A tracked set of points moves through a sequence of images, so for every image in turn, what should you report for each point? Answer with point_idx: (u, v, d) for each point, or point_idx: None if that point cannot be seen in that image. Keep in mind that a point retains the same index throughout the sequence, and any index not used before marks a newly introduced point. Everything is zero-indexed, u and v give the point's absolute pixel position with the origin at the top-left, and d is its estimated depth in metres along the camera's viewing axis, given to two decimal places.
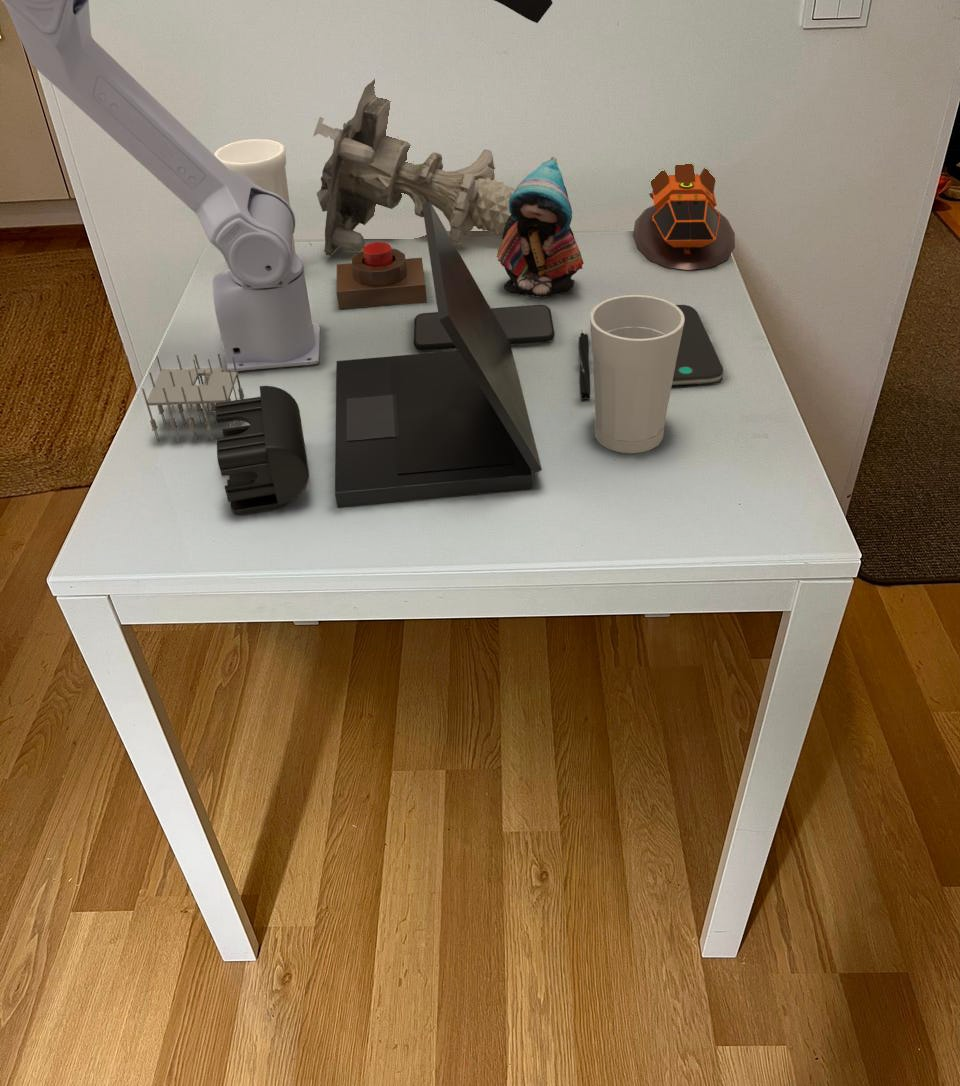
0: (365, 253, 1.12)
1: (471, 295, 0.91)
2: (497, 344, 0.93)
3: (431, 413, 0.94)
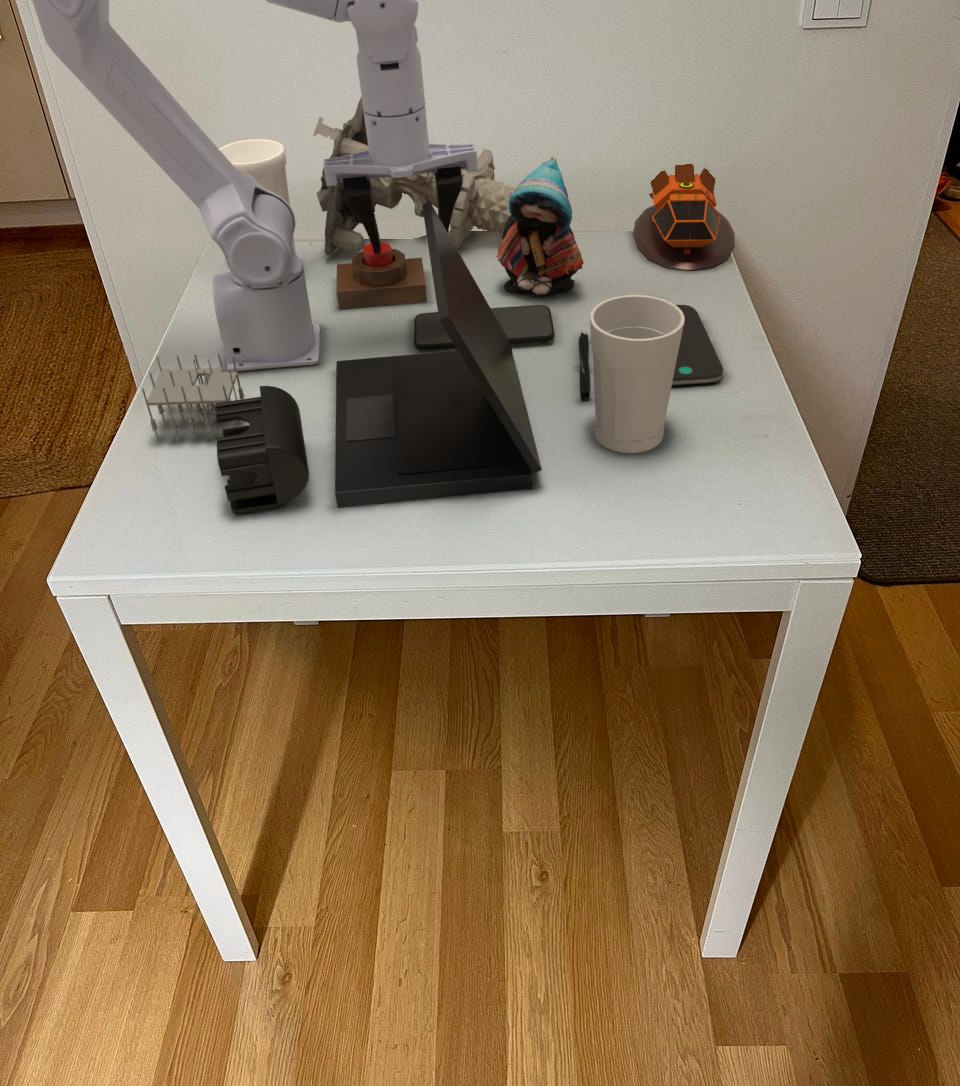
0: (365, 253, 1.12)
1: (471, 295, 0.91)
2: (497, 344, 0.93)
3: (431, 413, 0.94)
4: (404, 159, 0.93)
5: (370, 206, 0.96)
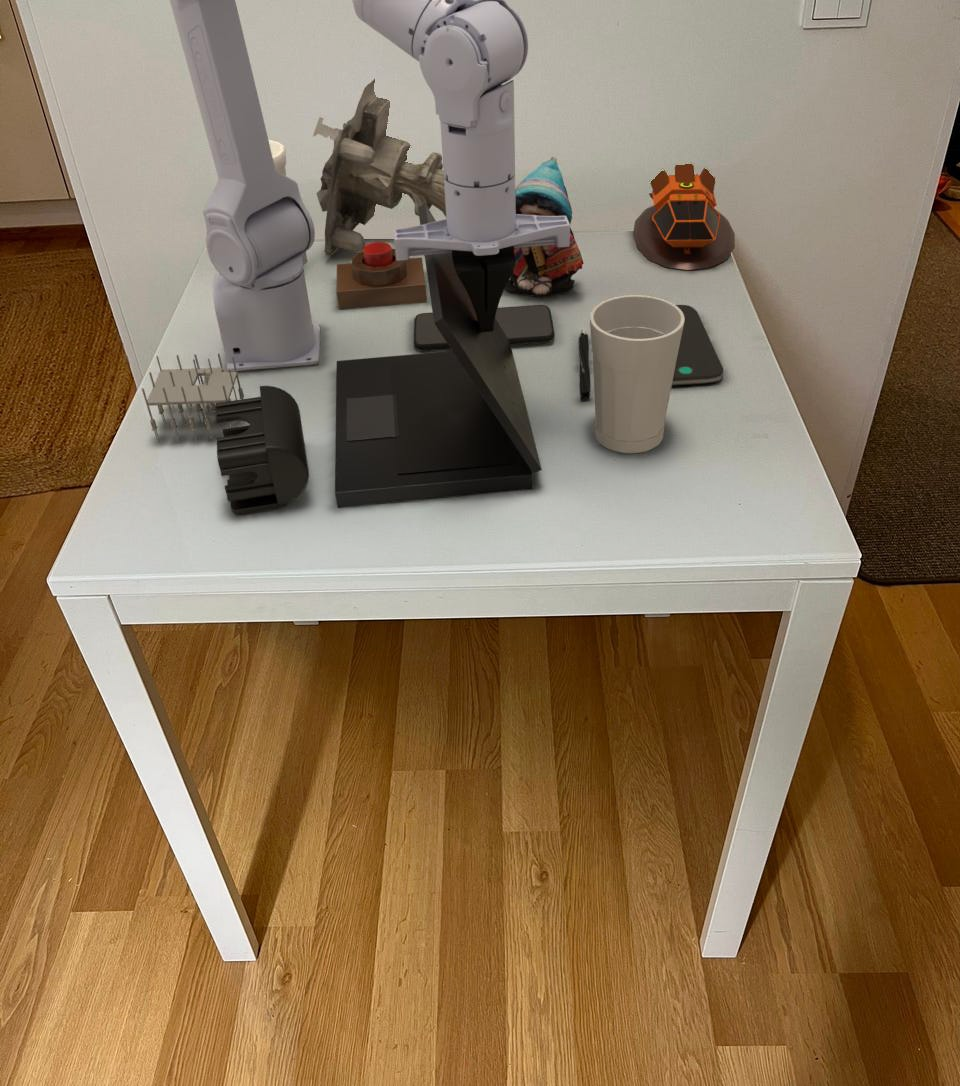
0: (365, 253, 1.12)
1: (468, 296, 0.91)
2: (496, 344, 0.93)
3: (431, 413, 0.94)
4: (489, 234, 0.80)
5: (482, 281, 0.84)
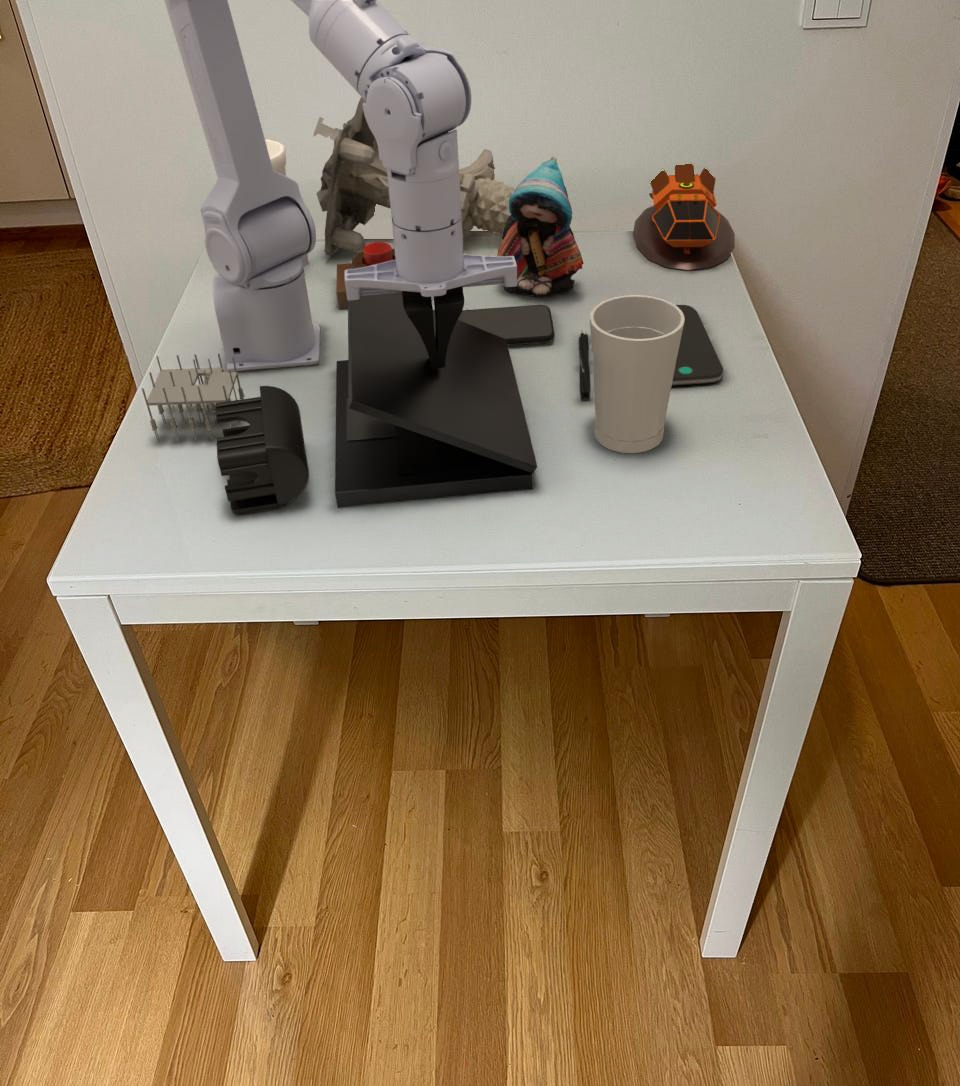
0: (365, 253, 1.12)
1: (420, 337, 0.93)
2: (470, 362, 0.94)
3: None
4: (436, 276, 0.82)
5: (431, 320, 0.85)
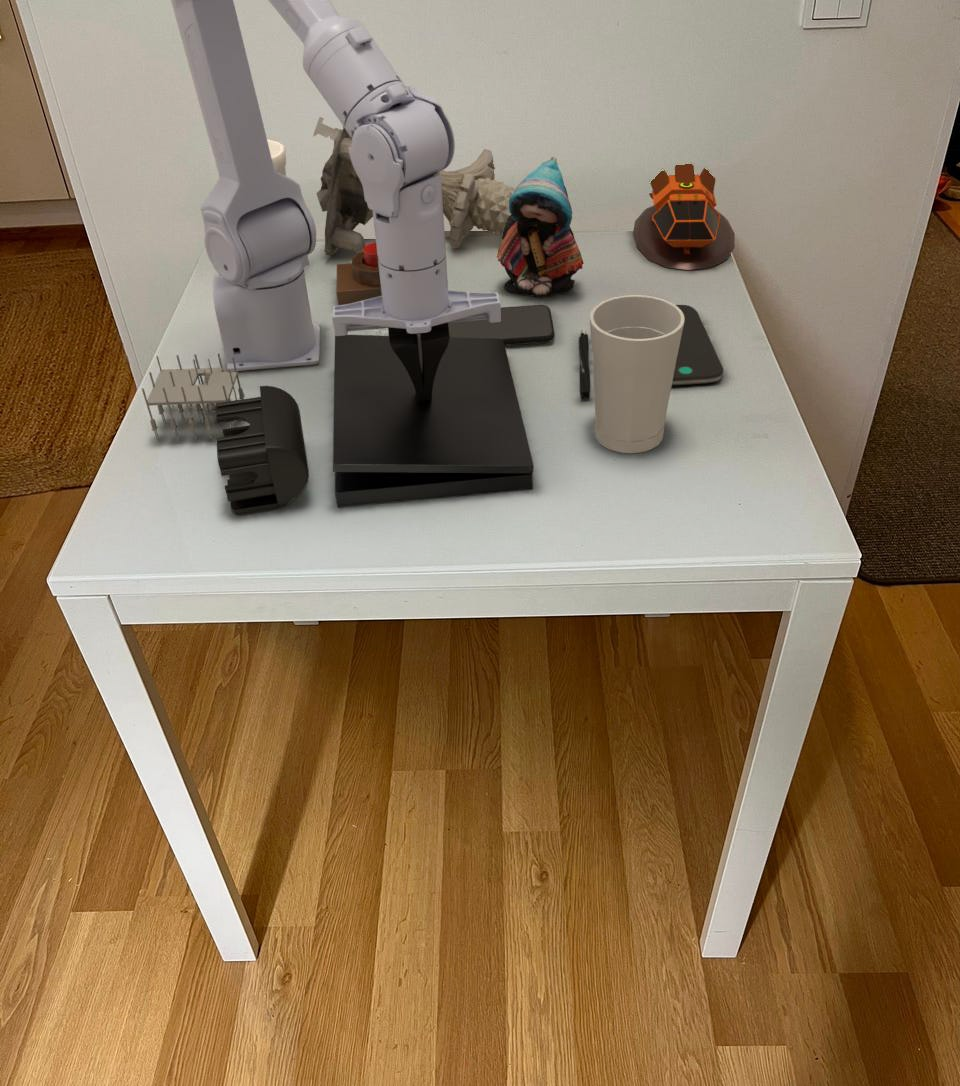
0: (365, 253, 1.12)
1: None
2: (461, 379, 0.95)
3: None
4: (421, 313, 0.84)
5: (417, 355, 0.87)
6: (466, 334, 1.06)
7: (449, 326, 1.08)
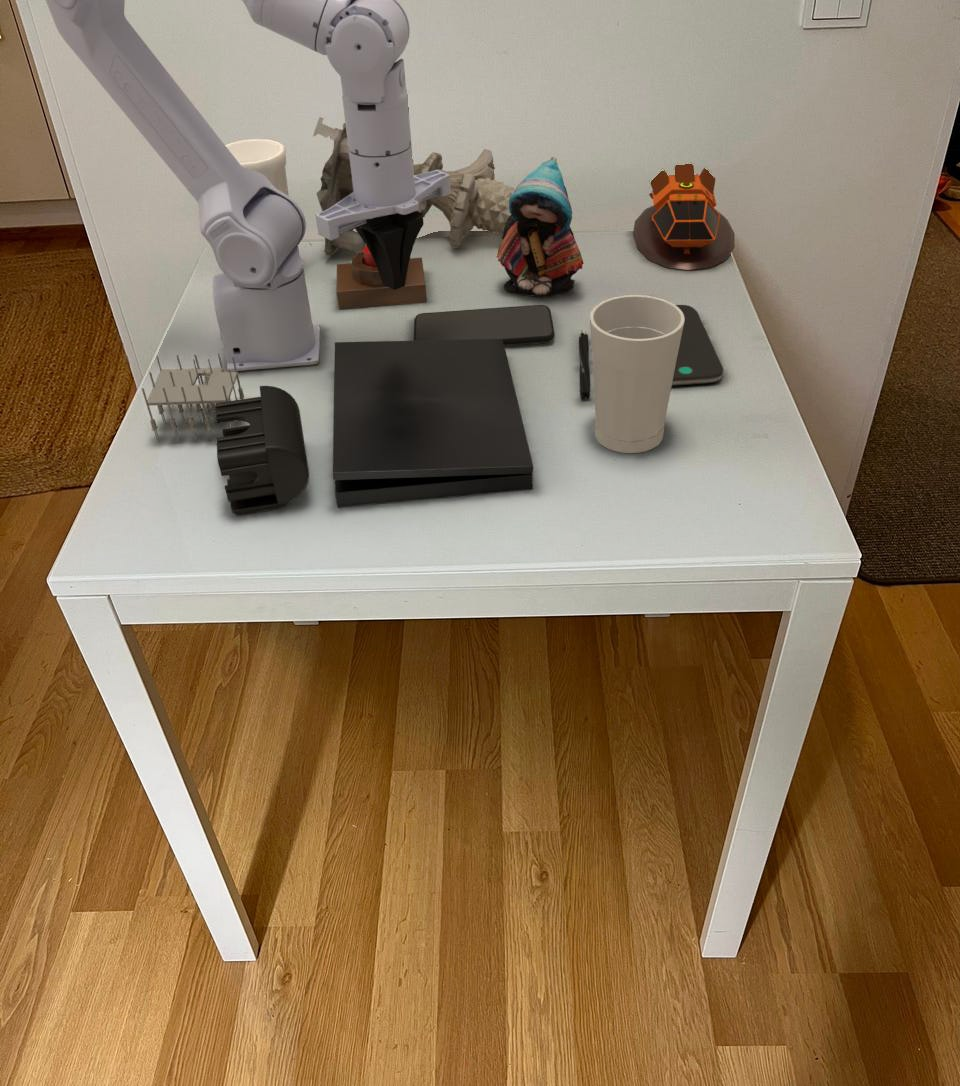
0: (365, 253, 1.12)
1: (407, 376, 0.96)
2: (460, 381, 0.96)
3: None
4: (406, 195, 0.92)
5: (400, 240, 0.94)
6: (466, 334, 1.06)
7: (449, 326, 1.08)
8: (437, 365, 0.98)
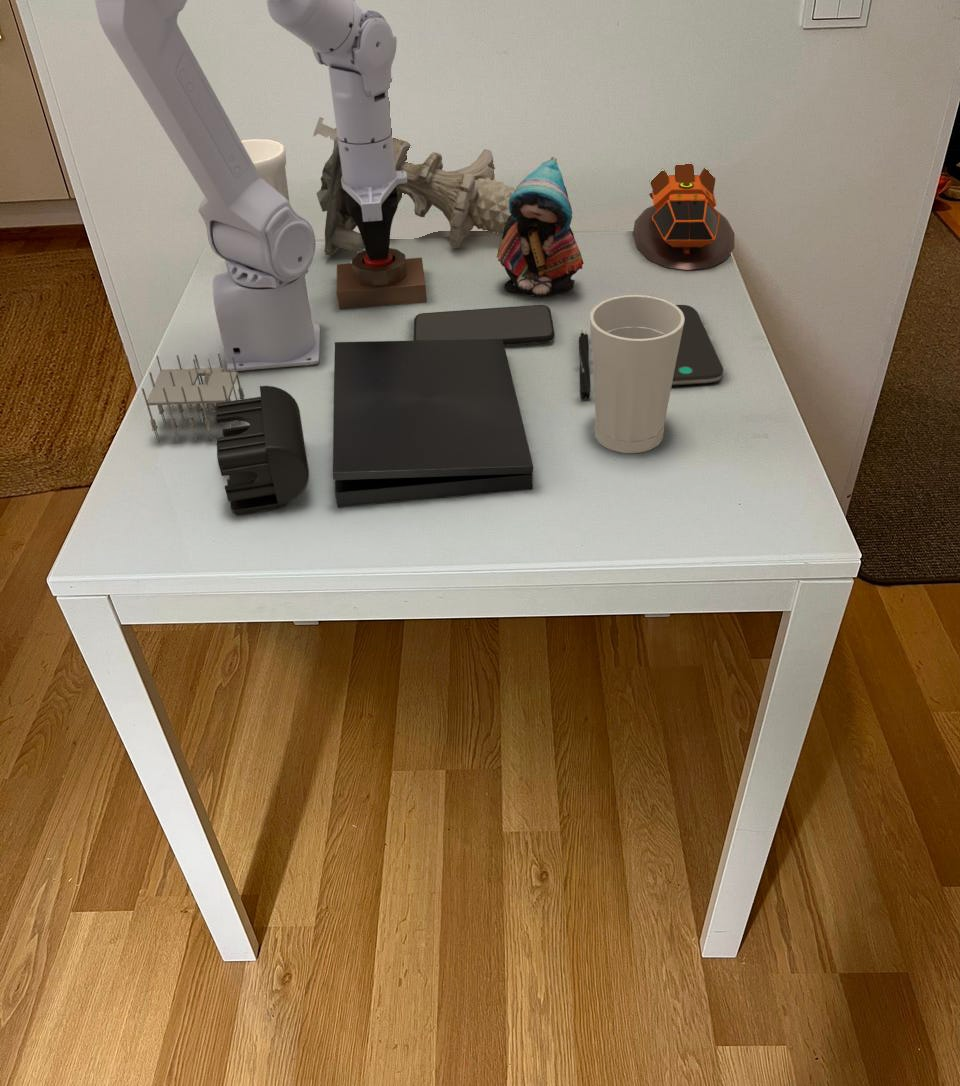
0: (366, 262, 1.13)
1: (407, 376, 0.96)
2: (460, 381, 0.96)
3: None
4: None
5: None
6: (466, 334, 1.06)
7: (449, 326, 1.08)
8: (437, 365, 0.98)
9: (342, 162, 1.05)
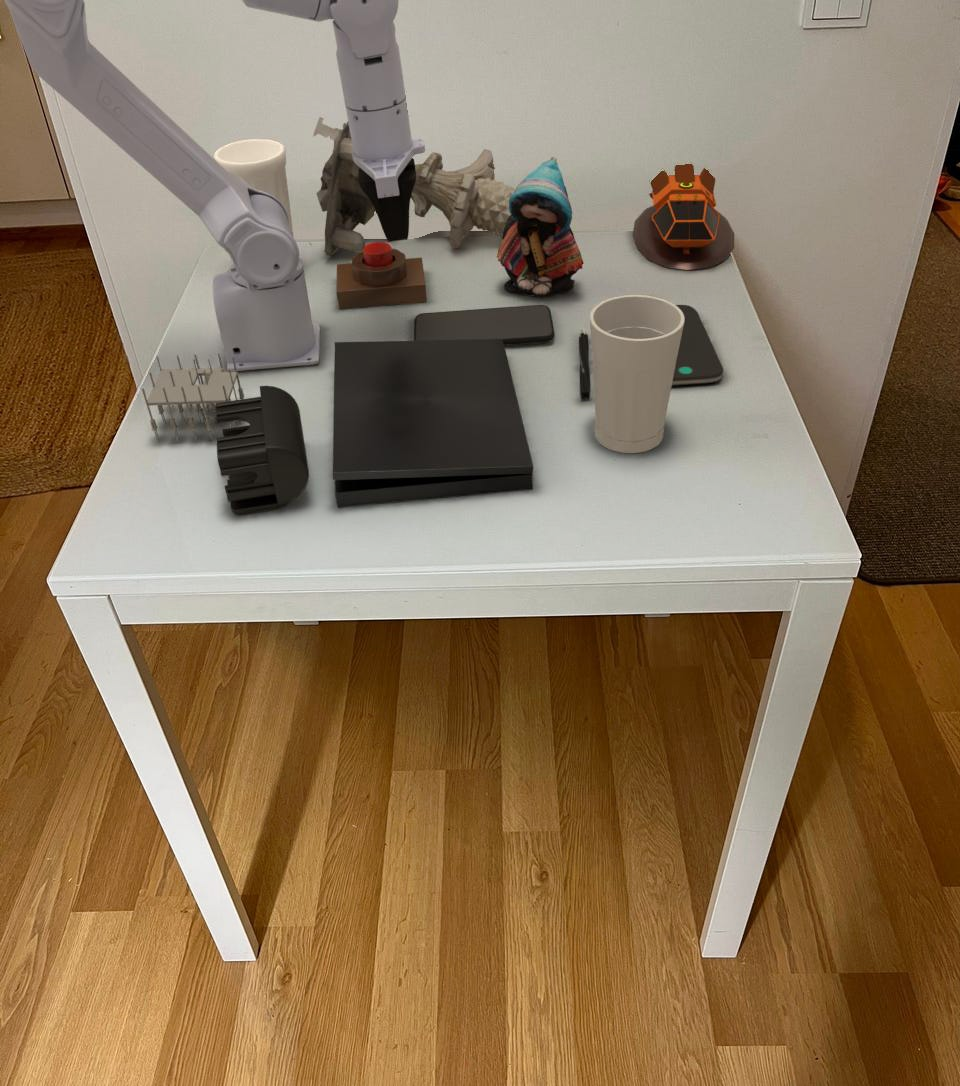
0: (365, 253, 1.12)
1: (407, 376, 0.96)
2: (460, 381, 0.96)
3: None
4: None
5: None
6: (466, 334, 1.06)
7: (449, 326, 1.08)
8: (437, 365, 0.98)
9: (352, 133, 0.94)
